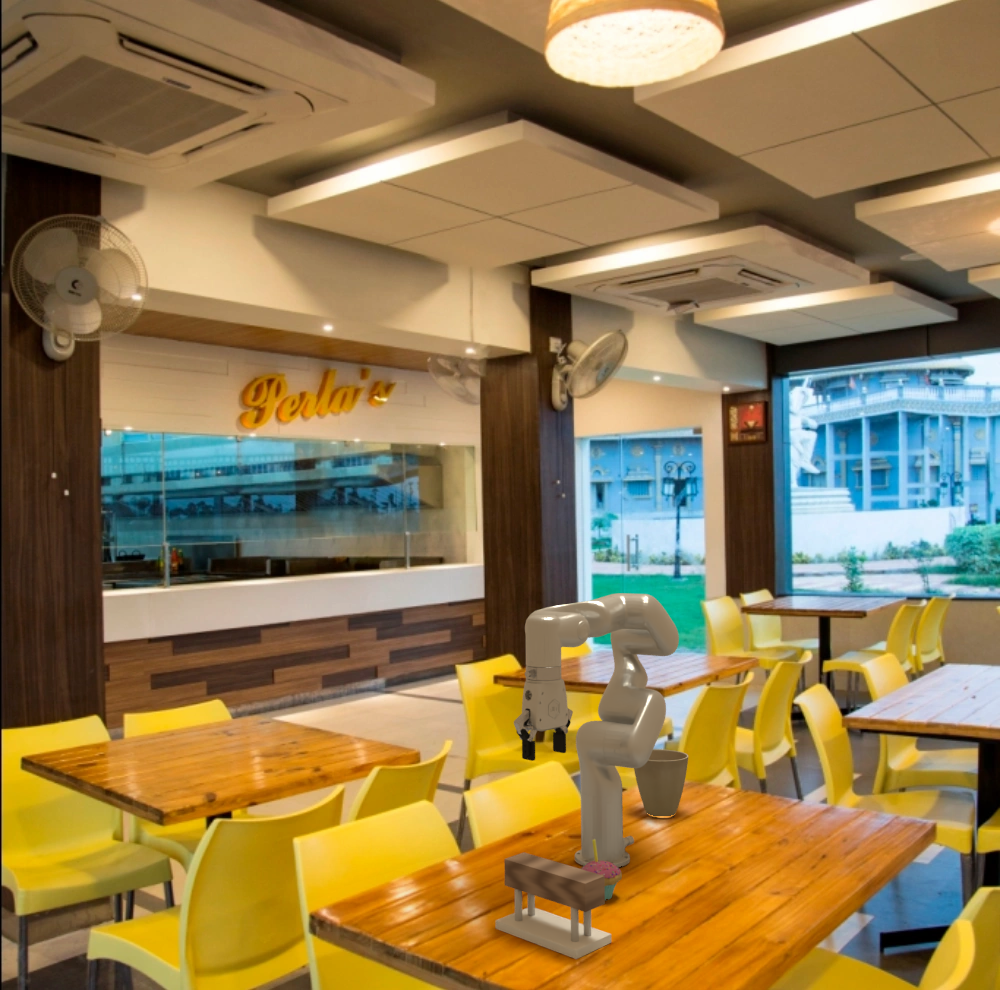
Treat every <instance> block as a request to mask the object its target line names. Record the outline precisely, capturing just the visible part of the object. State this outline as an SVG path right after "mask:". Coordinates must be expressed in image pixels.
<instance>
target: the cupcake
mask: <svg viewBox="0 0 1000 990" xmlns="http://www.w3.org/2000/svg"><path fill="white" fill-rule="evenodd" d="M592 842H593V850H594V858H595V861H590V862H589V863H587V864H585V865H584V866H583V865H582V866H581V868H580V869H582V870H586V871H589V872H593V873H596V874H599V875H603V876H604V880H605V901H607V900H606V899H608V900H610V899H612V898H613V894H614V891H615V887H616V885H617V883H619V881H621V880H622V875H623V873H622V871H621V869H620V867H617V866H616V865H614V864H613V863H611V862H608V861H600V860H598V857H597V849H596V841H595V840H594V836H593V840H592Z"/></svg>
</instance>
